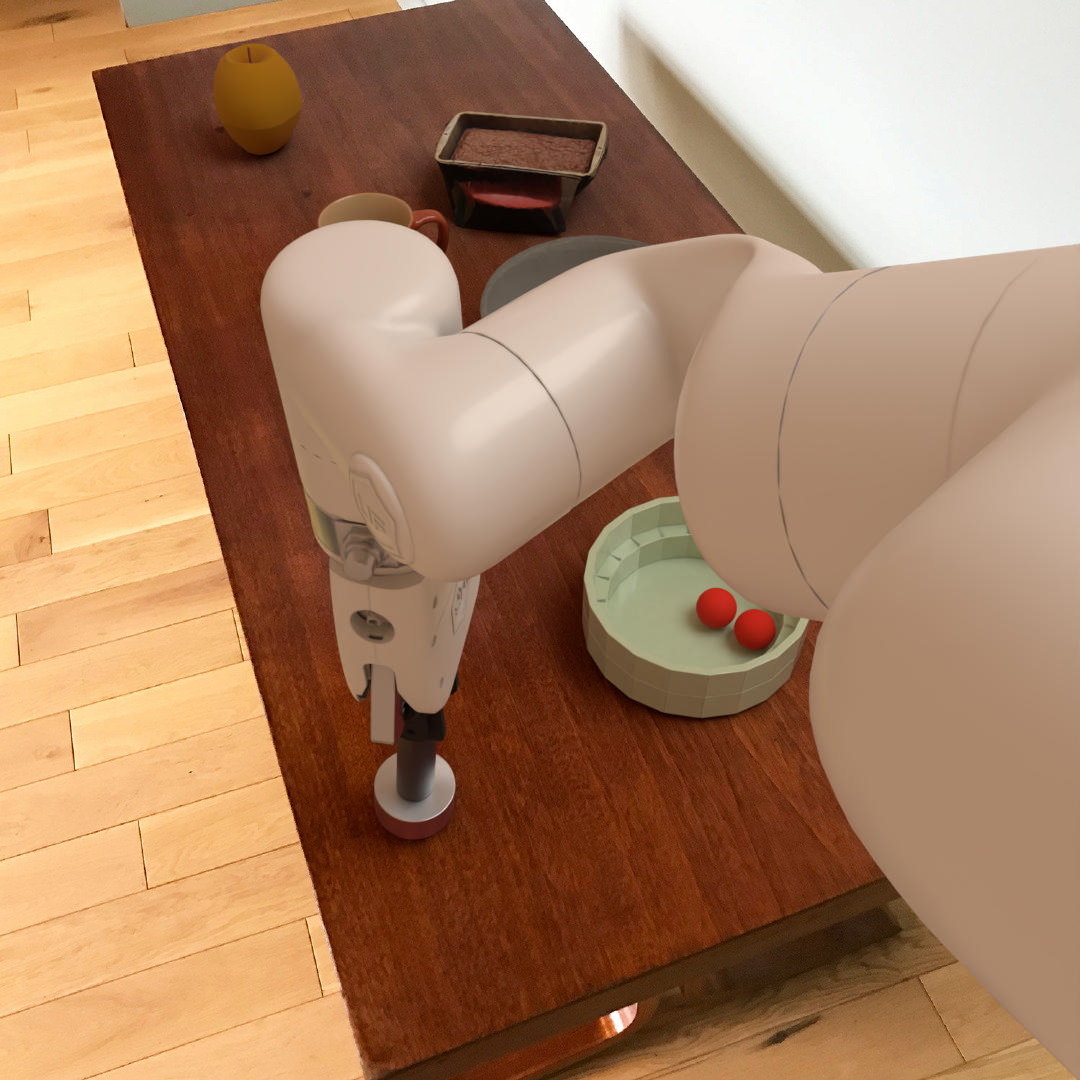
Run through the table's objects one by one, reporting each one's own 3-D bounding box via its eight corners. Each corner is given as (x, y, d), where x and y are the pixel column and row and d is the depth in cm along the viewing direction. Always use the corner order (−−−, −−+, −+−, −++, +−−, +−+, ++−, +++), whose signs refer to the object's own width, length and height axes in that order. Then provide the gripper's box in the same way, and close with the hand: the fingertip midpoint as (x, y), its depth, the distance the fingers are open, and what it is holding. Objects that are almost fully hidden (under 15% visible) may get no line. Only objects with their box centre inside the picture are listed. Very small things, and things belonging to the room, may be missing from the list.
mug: (344, 347, 105) (328, 255, 97) (324, 293, 111) (307, 202, 103) (466, 319, 108) (460, 228, 100) (440, 268, 113) (432, 178, 105)
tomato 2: (774, 653, 82) (774, 650, 79) (733, 649, 83) (731, 646, 80) (777, 612, 82) (777, 608, 79) (736, 609, 83) (734, 605, 80)
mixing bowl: (797, 737, 78) (812, 690, 73) (567, 703, 79) (568, 655, 75) (802, 560, 88) (816, 509, 83) (599, 534, 90) (601, 483, 85)
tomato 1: (713, 575, 83) (747, 598, 83) (691, 606, 84) (724, 629, 84) (708, 585, 81) (742, 609, 80) (685, 617, 82) (719, 641, 81)
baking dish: (476, 171, 129) (456, 91, 121) (627, 172, 123) (616, 88, 116) (438, 251, 120) (414, 170, 113) (597, 255, 115) (583, 170, 107)
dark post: (454, 839, 72) (470, 696, 58) (372, 840, 71) (370, 696, 58) (453, 766, 75) (468, 615, 62) (375, 767, 75) (373, 614, 61)
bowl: (752, 407, 99) (769, 318, 92) (559, 496, 93) (560, 407, 85) (624, 290, 111) (630, 201, 103) (444, 361, 104) (435, 272, 96)
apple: (295, 174, 125) (276, 73, 116) (212, 167, 126) (187, 66, 117) (320, 129, 131) (303, 30, 122) (240, 123, 132) (218, 24, 123)
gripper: (429, 647, 45) (457, 850, 58) (507, 382, 55) (515, 608, 69) (250, 621, 45) (320, 827, 59) (359, 365, 56) (397, 592, 70)
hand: (424, 708), depth 64 cm, fingers closed on dark post, 2 cm apart
